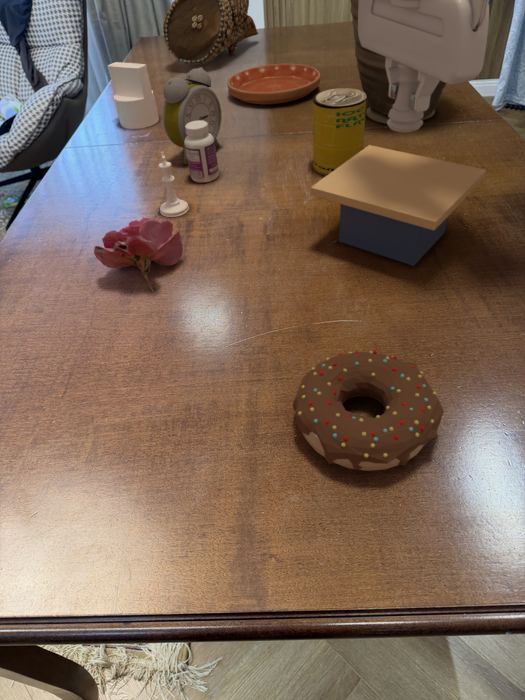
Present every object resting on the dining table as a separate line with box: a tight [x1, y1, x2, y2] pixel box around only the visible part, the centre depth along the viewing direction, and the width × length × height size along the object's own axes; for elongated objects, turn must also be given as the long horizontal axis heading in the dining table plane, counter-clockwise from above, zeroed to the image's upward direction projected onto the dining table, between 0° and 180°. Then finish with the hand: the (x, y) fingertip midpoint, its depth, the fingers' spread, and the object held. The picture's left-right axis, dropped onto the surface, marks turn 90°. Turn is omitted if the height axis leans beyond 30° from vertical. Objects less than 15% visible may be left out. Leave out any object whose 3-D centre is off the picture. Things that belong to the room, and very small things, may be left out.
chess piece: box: [158, 150, 190, 218], centre depth 83 cm, size 5×5×10 cm
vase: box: [350, 0, 447, 124], centre depth 101 cm, size 24×24×30 cm
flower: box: [93, 217, 184, 292], centre depth 71 cm, size 11×10×10 cm
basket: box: [162, 0, 260, 66], centre depth 149 cm, size 24×22×35 cm
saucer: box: [226, 63, 321, 105], centre depth 125 cm, size 23×23×4 cm
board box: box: [310, 144, 487, 267], centre depth 72 cm, size 18×16×9 cm
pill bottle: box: [184, 120, 220, 184], centre depth 91 cm, size 5×5×10 cm
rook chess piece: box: [386, 63, 424, 133], centre depth 61 cm, size 4×4×8 cm
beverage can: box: [312, 87, 367, 176], centre depth 89 cm, size 9×9×12 cm
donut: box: [292, 350, 444, 472], centre depth 49 cm, size 14×14×5 cm
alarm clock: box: [162, 66, 222, 165], centre depth 97 cm, size 12×7×15 cm, turn 143°
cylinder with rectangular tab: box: [107, 61, 160, 130], centre depth 114 cm, size 9×9×12 cm
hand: (407, 103), depth 62 cm, fingers closed on rook chess piece, 3 cm apart
